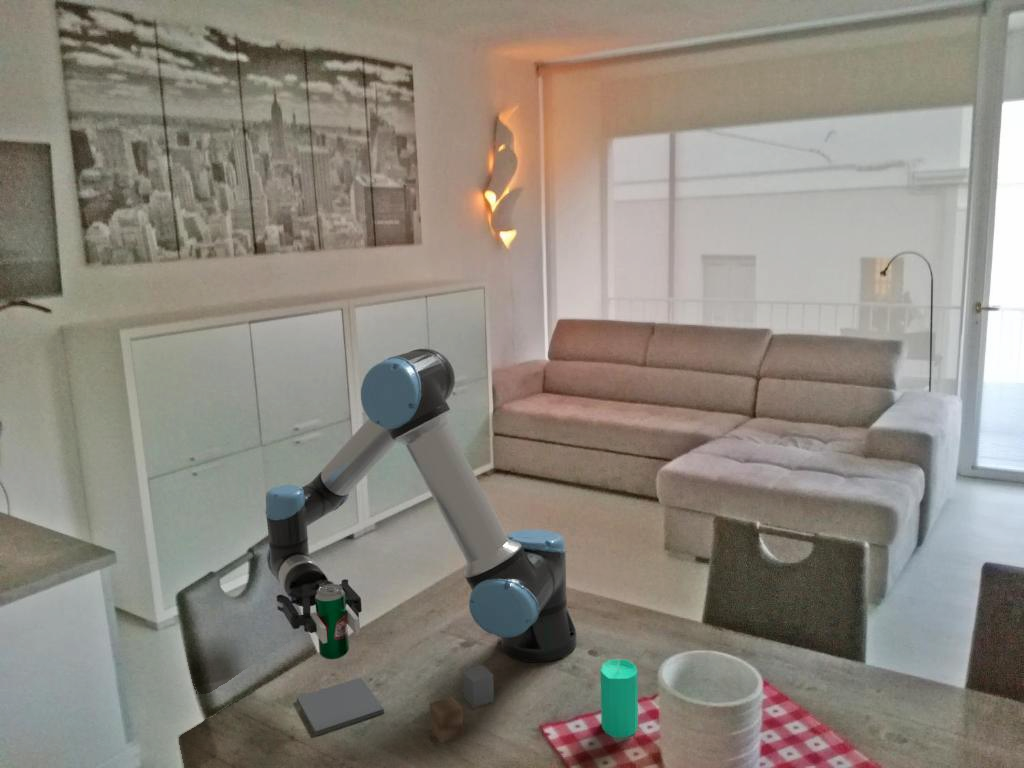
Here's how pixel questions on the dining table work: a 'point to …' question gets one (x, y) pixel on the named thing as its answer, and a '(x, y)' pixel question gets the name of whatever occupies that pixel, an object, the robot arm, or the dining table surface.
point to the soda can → (332, 620)
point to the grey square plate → (339, 706)
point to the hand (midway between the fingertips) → (341, 631)
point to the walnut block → (446, 719)
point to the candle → (619, 698)
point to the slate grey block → (478, 686)
